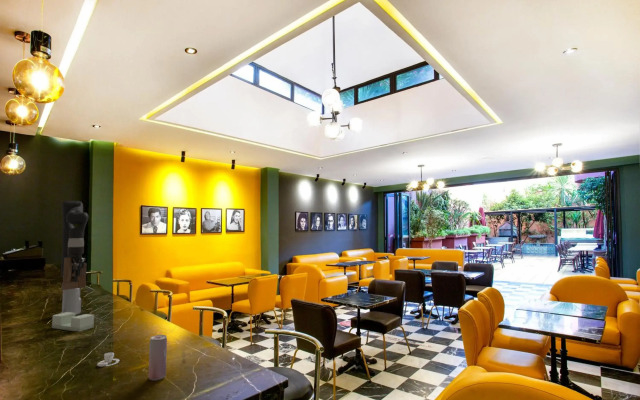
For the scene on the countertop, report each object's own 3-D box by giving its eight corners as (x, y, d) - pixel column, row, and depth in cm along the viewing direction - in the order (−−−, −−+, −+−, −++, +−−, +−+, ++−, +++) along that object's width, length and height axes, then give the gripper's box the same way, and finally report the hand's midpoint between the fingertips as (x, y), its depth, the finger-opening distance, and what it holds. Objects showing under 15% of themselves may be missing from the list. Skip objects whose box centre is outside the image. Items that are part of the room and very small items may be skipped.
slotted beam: (66, 324, 198) (67, 311, 198) (93, 327, 191) (94, 314, 191) (52, 327, 190) (52, 315, 191) (79, 331, 183) (80, 318, 184)
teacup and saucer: (100, 369, 135) (101, 359, 135) (91, 365, 139) (91, 355, 139) (123, 362, 142) (123, 352, 143) (113, 358, 147) (113, 348, 147)
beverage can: (152, 374, 129) (153, 334, 131) (168, 373, 130) (169, 334, 131) (145, 381, 124) (147, 340, 125) (162, 380, 124) (163, 339, 125)
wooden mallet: (85, 287, 195) (87, 256, 196) (63, 290, 187) (64, 257, 188) (83, 286, 197) (85, 256, 199) (61, 289, 189) (63, 257, 191)
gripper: (91, 245, 195) (89, 275, 194) (74, 245, 200) (72, 274, 199) (78, 246, 188) (76, 277, 187) (60, 246, 193) (59, 276, 191)
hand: (74, 275), depth 193 cm, fingers closed on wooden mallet, 4 cm apart
